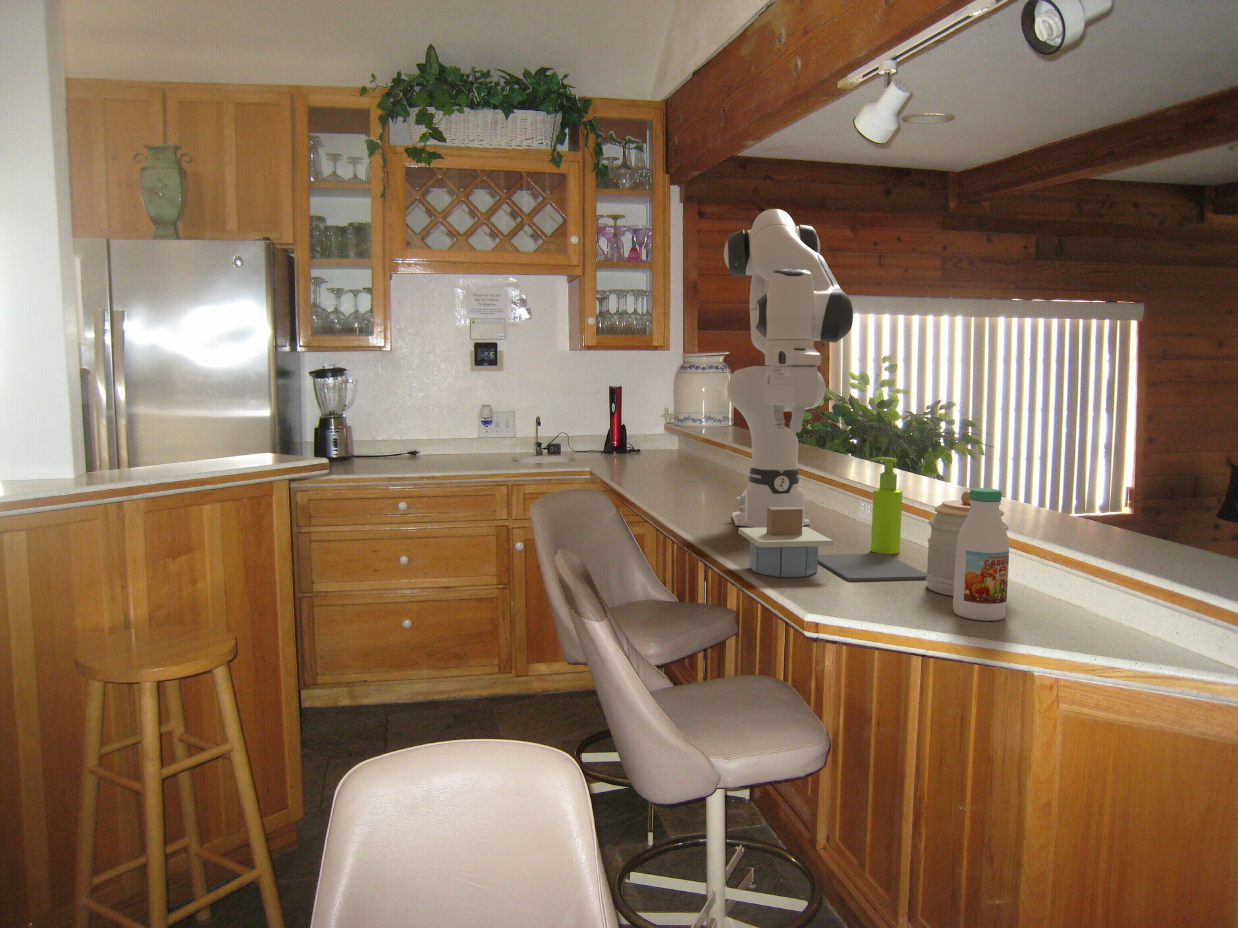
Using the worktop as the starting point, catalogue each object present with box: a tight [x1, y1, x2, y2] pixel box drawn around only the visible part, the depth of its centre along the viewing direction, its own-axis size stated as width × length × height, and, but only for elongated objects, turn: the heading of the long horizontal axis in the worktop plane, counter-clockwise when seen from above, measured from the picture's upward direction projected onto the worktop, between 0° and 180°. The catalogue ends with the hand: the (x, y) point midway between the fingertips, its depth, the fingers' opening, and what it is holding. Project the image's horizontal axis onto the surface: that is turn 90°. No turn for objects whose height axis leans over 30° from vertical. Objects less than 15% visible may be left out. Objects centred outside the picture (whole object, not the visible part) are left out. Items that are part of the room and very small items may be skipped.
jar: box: [925, 490, 1009, 597], centre depth 151 cm, size 13×13×18 cm
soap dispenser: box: [869, 456, 903, 555], centre depth 183 cm, size 6×7×20 cm
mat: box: [818, 553, 926, 582], centre depth 168 cm, size 20×16×1 cm
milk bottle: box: [952, 487, 1010, 622], centre depth 135 cm, size 8×8×20 cm
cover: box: [737, 507, 834, 547], centre depth 165 cm, size 14×14×6 cm
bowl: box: [748, 541, 819, 578], centre depth 166 cm, size 12×12×6 cm
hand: (787, 430), depth 163 cm, fingers open, 8 cm apart
